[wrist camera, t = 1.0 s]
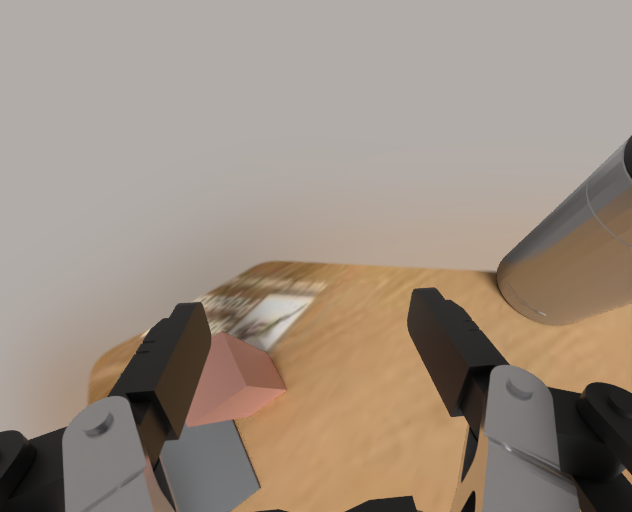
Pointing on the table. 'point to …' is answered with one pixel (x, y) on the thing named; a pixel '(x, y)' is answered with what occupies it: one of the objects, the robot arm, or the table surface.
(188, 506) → the mat
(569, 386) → the table surface
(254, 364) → the block
